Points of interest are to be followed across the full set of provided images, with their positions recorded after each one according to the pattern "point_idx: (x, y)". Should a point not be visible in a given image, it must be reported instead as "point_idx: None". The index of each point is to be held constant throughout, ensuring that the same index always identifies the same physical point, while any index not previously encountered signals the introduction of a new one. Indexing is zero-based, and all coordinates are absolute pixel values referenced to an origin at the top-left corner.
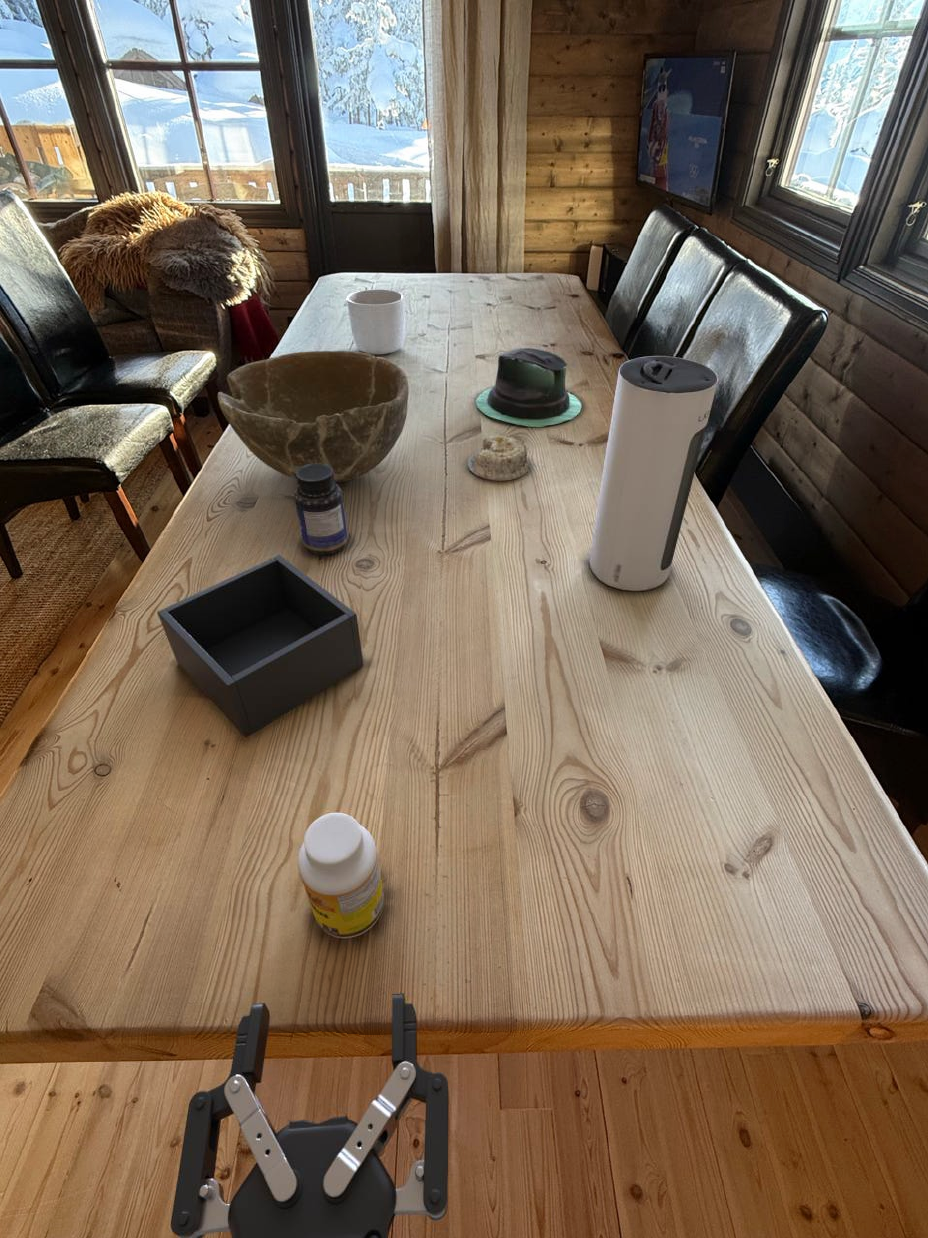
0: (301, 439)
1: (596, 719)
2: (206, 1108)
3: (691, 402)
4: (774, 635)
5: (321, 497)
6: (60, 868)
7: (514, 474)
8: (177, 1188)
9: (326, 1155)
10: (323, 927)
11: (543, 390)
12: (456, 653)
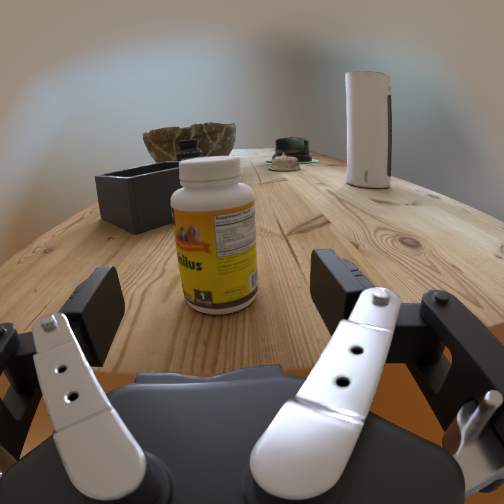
0: (181, 136)
1: (386, 216)
2: (4, 339)
3: (382, 77)
4: (449, 198)
5: (191, 150)
6: (10, 284)
7: (293, 168)
8: None
9: (241, 428)
10: (195, 298)
11: (299, 149)
12: (281, 203)
